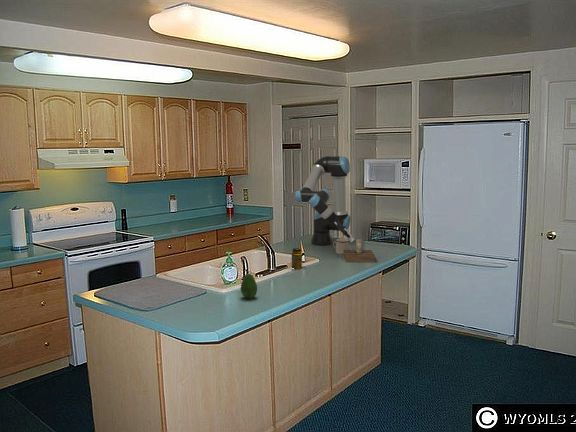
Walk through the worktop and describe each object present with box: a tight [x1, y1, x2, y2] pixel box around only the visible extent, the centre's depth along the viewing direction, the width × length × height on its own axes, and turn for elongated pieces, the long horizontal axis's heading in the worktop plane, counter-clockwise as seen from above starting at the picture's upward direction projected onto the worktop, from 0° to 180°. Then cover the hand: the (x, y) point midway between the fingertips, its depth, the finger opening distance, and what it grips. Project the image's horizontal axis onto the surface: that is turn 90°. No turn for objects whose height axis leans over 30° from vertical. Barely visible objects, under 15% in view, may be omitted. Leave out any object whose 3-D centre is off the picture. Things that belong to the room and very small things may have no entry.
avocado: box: [240, 273, 258, 299], centre depth 249 cm, size 8×8×12 cm
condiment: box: [291, 247, 305, 271], centre depth 306 cm, size 7×8×12 cm
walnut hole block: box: [343, 249, 376, 263], centre depth 331 cm, size 16×18×4 cm
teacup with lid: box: [332, 235, 350, 255], centre depth 349 cm, size 12×9×12 cm
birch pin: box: [355, 238, 363, 253], centre depth 330 cm, size 4×4×13 cm
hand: (351, 238), depth 329 cm, fingers open, 13 cm apart
